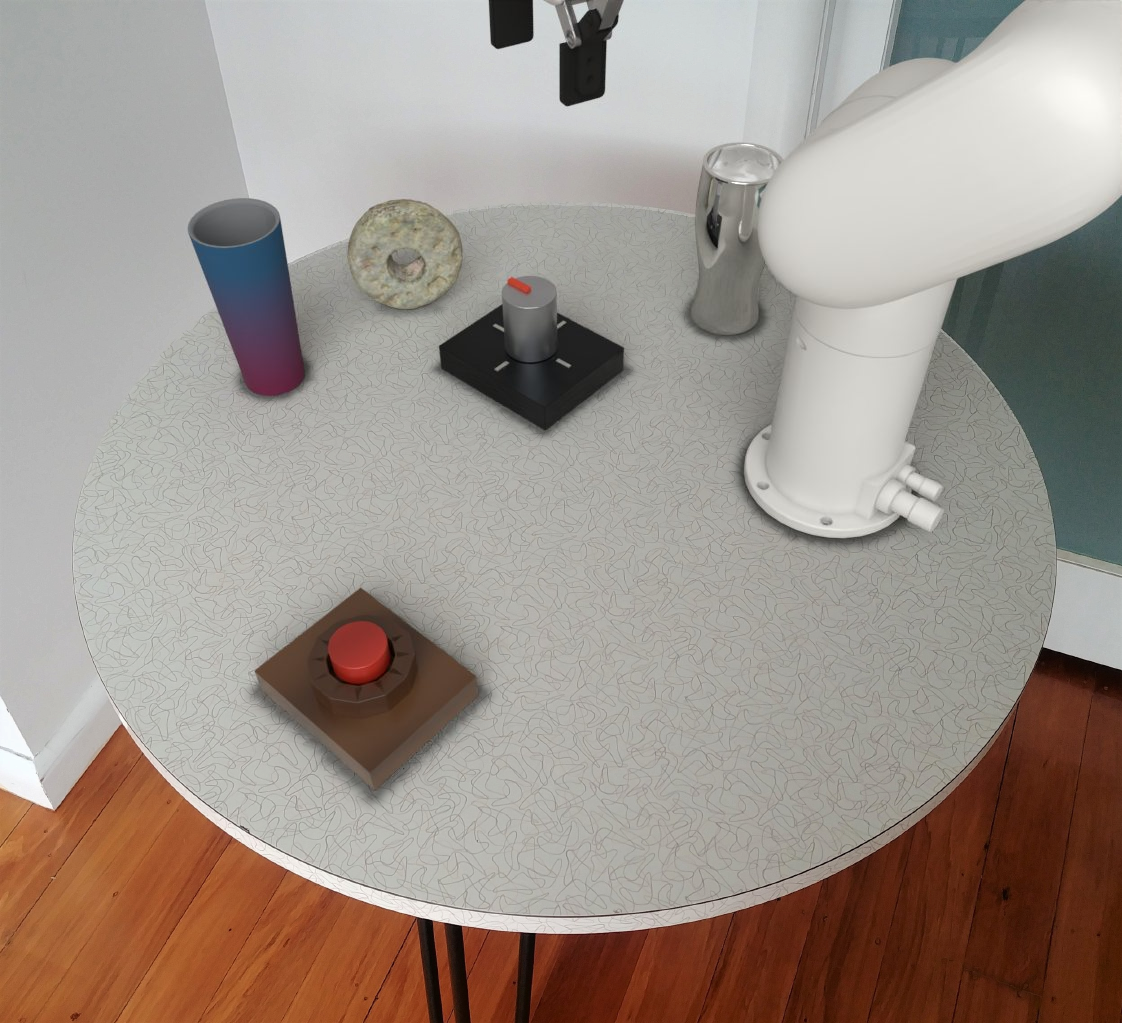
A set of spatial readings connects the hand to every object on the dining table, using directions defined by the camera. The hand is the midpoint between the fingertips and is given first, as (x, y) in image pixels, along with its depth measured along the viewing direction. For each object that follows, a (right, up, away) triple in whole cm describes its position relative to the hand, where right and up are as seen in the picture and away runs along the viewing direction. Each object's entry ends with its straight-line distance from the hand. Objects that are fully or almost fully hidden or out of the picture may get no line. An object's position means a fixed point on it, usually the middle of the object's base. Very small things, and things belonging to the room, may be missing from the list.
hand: (545, 71), depth 73 cm
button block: (-11, -42, -4) cm, 44 cm away
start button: (-11, -40, -7) cm, 42 cm away
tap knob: (-1, -16, +16) cm, 23 cm away
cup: (-23, -19, +18) cm, 35 cm away
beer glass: (+16, -13, +23) cm, 31 cm away
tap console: (-1, -18, +18) cm, 26 cm away
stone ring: (-13, -11, +25) cm, 30 cm away
